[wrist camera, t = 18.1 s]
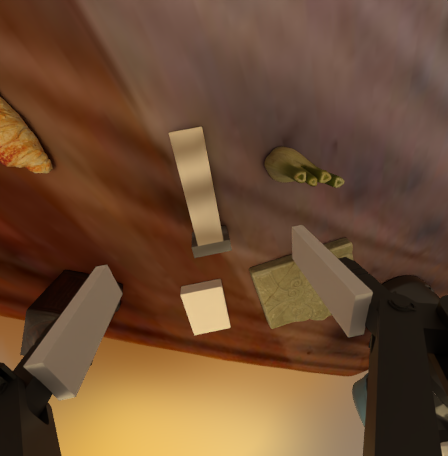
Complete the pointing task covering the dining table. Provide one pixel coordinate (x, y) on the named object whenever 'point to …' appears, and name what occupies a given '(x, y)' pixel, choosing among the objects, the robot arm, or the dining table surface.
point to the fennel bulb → (297, 169)
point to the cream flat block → (205, 306)
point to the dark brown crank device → (52, 306)
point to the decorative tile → (292, 288)
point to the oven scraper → (199, 192)
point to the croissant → (20, 143)
